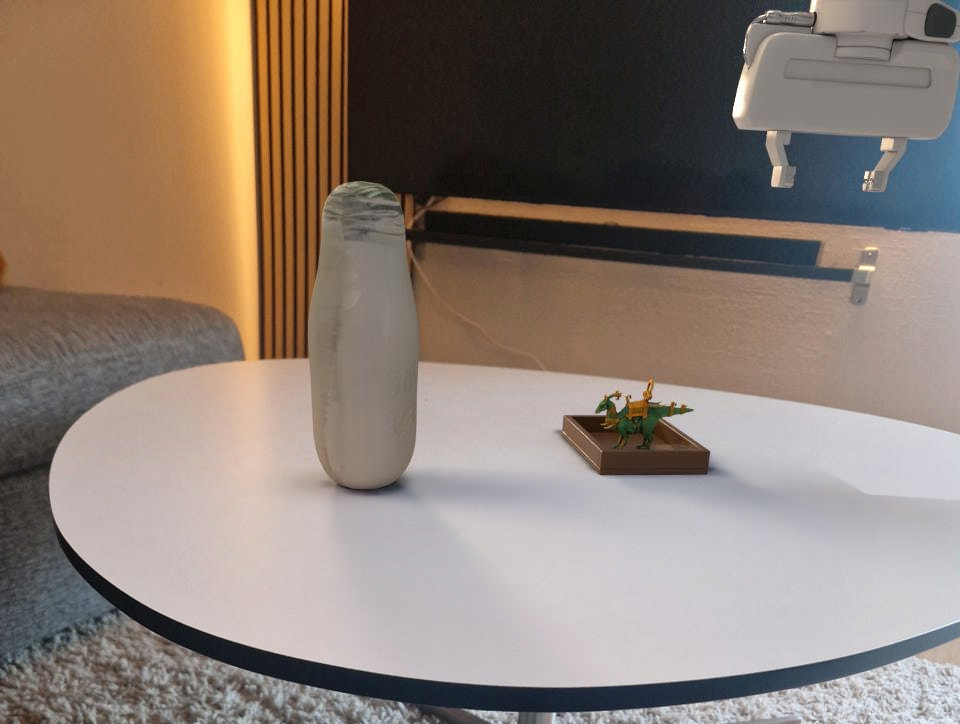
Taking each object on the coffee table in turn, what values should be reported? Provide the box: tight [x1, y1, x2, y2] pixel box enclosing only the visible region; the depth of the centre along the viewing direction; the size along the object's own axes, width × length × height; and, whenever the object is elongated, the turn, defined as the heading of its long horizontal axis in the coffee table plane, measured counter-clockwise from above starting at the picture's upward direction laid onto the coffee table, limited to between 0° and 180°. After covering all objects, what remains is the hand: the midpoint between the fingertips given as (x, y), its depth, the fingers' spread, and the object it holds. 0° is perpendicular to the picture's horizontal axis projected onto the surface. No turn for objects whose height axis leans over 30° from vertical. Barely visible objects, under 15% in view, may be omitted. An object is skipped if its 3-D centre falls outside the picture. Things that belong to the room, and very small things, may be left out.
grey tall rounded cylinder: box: [307, 180, 420, 490], centre depth 89 cm, size 10×10×28 cm
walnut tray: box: [561, 414, 711, 475], centre depth 110 cm, size 18×13×3 cm
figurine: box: [594, 379, 695, 450], centre depth 109 cm, size 3×12×8 cm, turn 98°
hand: (827, 189), depth 88 cm, fingers open, 8 cm apart
